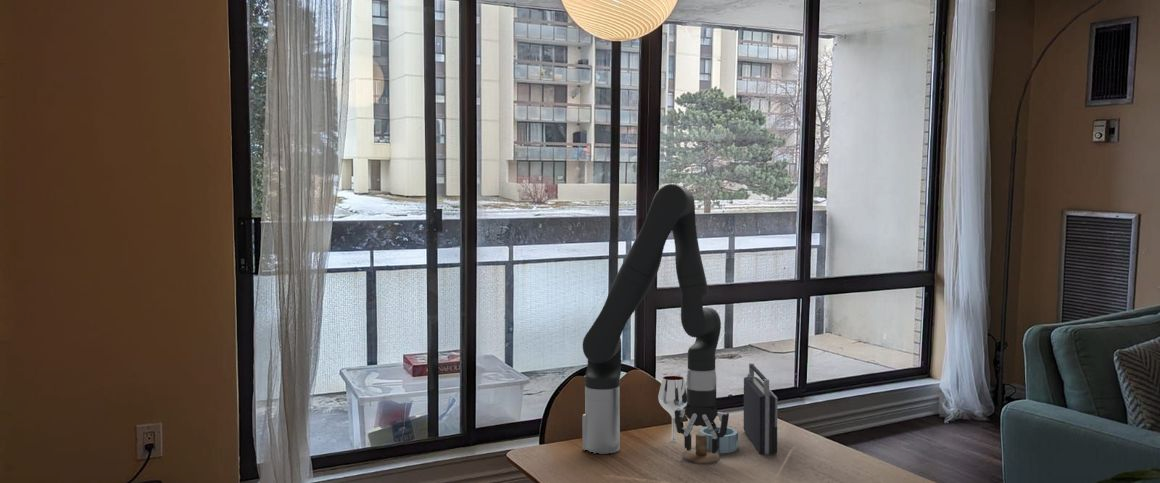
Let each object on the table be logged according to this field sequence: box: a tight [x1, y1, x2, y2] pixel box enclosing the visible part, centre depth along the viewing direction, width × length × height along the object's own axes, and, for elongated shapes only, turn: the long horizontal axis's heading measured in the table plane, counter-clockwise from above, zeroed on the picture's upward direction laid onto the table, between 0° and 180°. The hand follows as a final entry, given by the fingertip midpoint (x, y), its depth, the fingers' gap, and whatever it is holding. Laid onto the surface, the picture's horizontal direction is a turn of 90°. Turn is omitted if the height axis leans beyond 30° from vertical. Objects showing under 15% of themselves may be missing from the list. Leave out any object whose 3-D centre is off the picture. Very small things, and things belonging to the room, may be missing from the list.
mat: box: [679, 454, 723, 467], centre depth 218 cm, size 9×9×1 cm
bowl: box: [698, 425, 739, 454], centre depth 227 cm, size 10×10×5 cm
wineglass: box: [657, 375, 687, 443], centre depth 233 cm, size 8×8×18 cm
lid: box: [683, 433, 720, 465], centre depth 218 cm, size 9×9×6 cm
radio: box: [743, 362, 778, 455], centre depth 233 cm, size 24×5×20 cm, turn 179°
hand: (701, 450), depth 218 cm, fingers open, 6 cm apart
